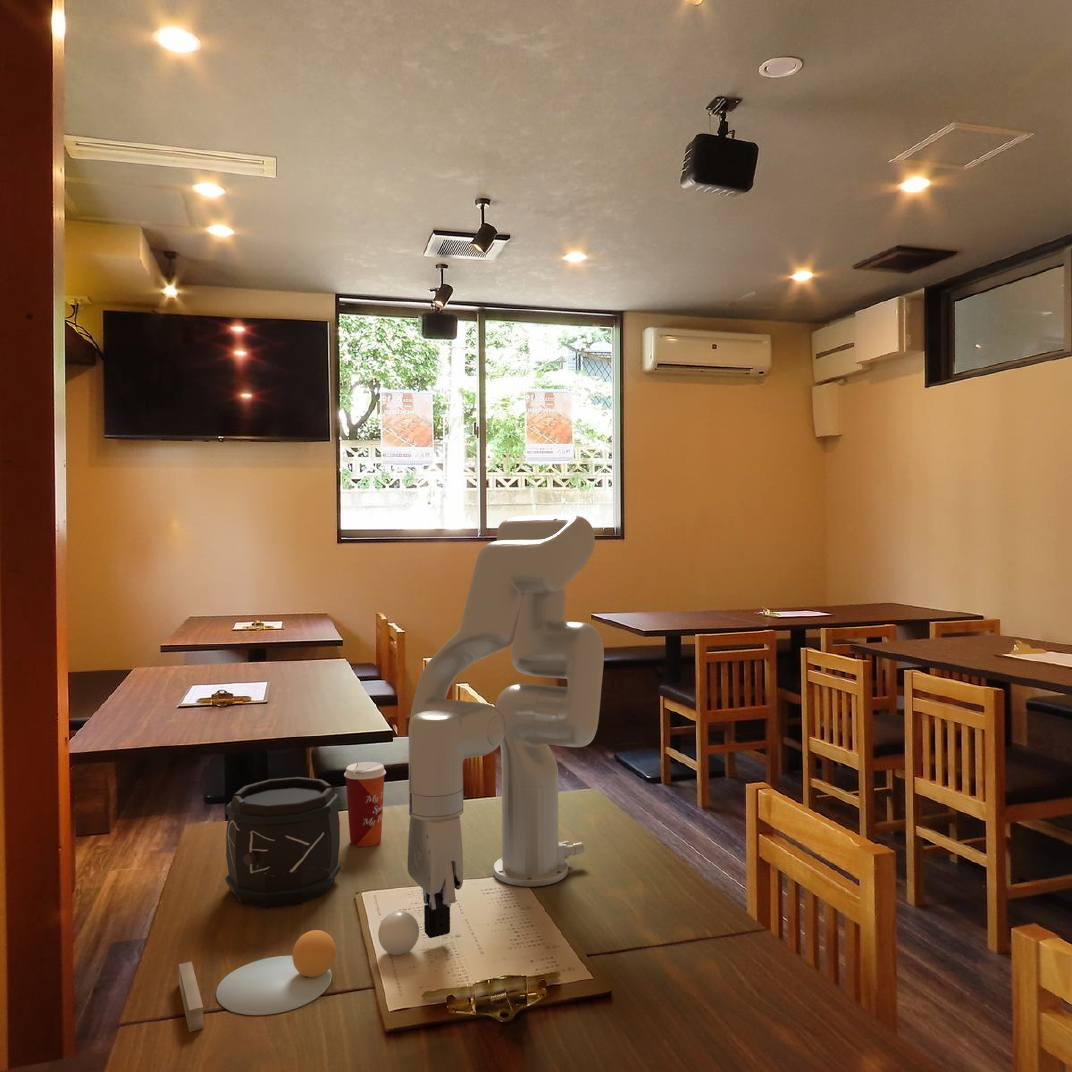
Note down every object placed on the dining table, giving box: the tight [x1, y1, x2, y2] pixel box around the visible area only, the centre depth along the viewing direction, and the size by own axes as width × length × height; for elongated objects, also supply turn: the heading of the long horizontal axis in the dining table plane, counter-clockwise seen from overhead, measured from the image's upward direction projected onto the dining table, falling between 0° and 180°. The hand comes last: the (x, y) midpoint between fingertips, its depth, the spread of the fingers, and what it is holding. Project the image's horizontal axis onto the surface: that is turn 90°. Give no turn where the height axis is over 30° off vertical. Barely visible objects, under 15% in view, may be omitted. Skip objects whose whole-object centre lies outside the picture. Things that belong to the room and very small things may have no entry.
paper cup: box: [343, 761, 387, 848], centre depth 159 cm, size 8×8×14 cm
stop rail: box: [178, 961, 204, 1033], centre depth 104 cm, size 2×12×2 cm, turn 28°
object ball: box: [291, 929, 337, 977], centre depth 111 cm, size 6×6×6 cm
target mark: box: [215, 955, 333, 1016], centre depth 108 cm, size 14×14×1 cm
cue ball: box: [377, 910, 420, 956], centre depth 116 cm, size 6×6×6 cm
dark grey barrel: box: [224, 776, 342, 909], centre depth 138 cm, size 18×18×16 cm
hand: (437, 933), depth 119 cm, fingers closed
